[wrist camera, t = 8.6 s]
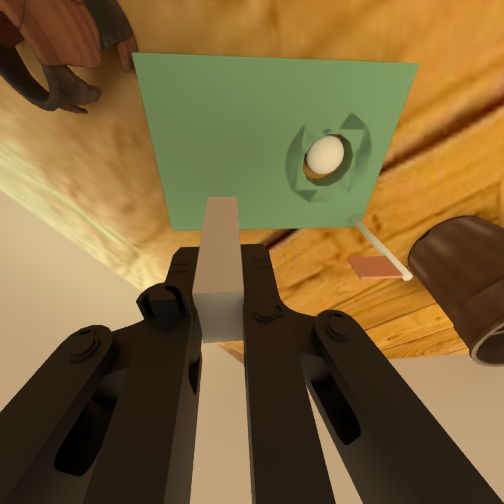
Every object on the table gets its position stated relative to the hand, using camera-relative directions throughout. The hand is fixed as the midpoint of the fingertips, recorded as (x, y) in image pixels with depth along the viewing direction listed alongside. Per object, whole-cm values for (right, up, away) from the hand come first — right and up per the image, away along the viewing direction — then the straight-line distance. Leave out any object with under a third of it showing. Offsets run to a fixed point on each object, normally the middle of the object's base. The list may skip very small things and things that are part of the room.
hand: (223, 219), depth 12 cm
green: (+4, +10, +14) cm, 17 cm away
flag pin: (+13, +4, +19) cm, 23 cm away
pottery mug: (-13, +17, +6) cm, 23 cm away
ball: (+10, +9, +12) cm, 18 cm away
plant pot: (+34, -1, +25) cm, 42 cm away
